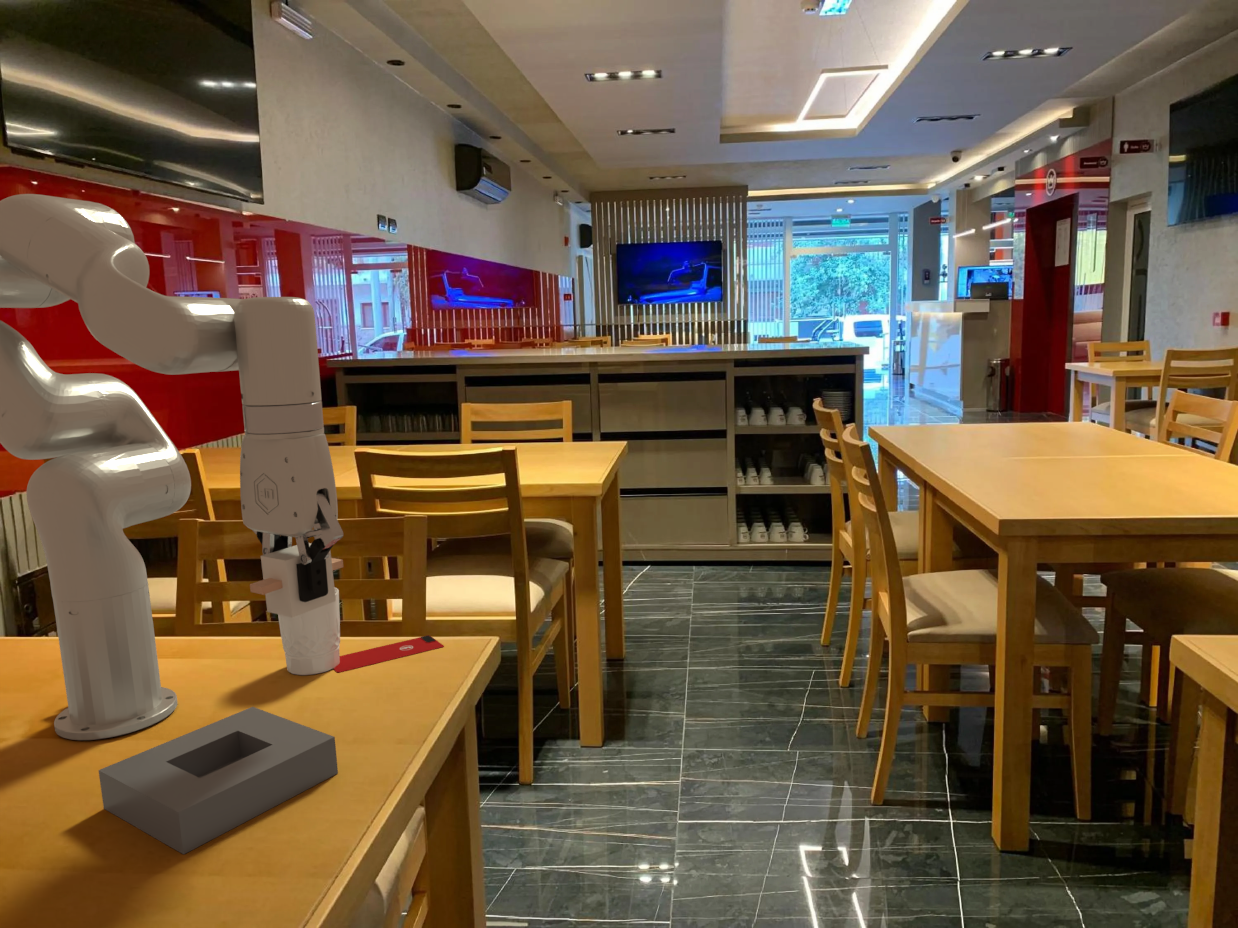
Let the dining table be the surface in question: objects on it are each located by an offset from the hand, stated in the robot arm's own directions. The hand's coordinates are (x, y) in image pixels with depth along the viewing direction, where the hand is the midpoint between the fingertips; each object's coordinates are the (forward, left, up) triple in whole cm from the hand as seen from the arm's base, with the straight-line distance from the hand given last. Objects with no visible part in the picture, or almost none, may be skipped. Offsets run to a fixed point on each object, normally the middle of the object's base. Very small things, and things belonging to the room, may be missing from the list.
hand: (299, 593), depth 91 cm
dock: (0, -10, -17) cm, 20 cm away
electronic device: (-15, +23, -18) cm, 32 cm away
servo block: (0, 0, -1) cm, 2 cm away
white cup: (-20, +15, -17) cm, 30 cm away
